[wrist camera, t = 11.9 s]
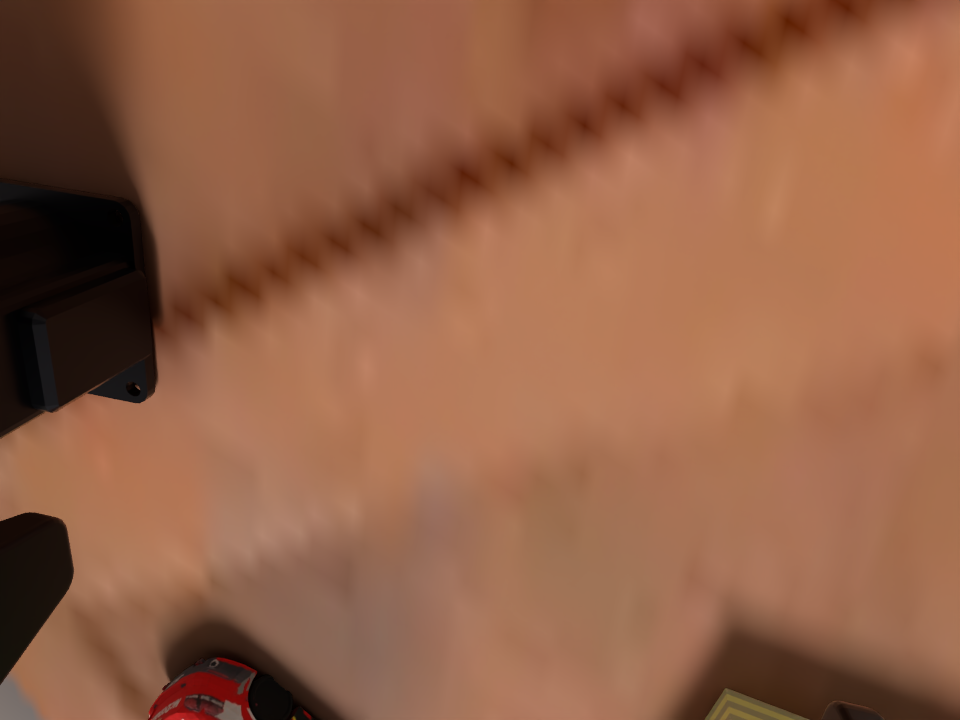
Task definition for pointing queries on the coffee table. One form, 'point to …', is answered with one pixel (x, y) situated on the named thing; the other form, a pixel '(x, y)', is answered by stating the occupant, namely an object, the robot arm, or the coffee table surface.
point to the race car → (224, 695)
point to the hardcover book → (746, 709)
